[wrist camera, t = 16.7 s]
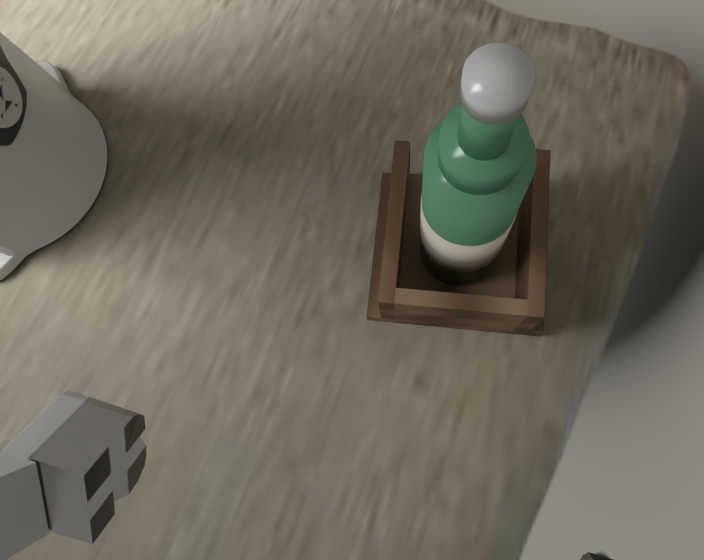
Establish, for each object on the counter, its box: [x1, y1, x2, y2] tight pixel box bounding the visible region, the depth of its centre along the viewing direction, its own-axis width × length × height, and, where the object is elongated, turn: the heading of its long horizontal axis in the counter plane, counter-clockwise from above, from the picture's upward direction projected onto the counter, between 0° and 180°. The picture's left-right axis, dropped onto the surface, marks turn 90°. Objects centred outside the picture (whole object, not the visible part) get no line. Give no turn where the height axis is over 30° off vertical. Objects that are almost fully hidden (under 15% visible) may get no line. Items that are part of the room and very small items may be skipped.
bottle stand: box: [367, 141, 550, 336], centre depth 41 cm, size 12×11×6 cm
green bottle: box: [420, 42, 537, 286], centre depth 33 cm, size 6×6×21 cm
